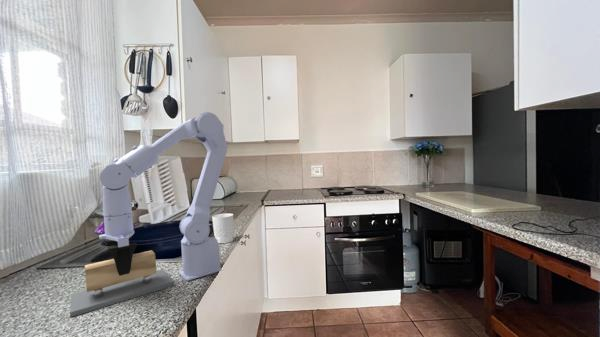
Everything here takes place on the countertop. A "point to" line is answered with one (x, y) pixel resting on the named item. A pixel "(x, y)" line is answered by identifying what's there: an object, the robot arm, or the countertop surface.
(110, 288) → the flat gray rectangular plate
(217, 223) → the white cup
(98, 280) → the board
